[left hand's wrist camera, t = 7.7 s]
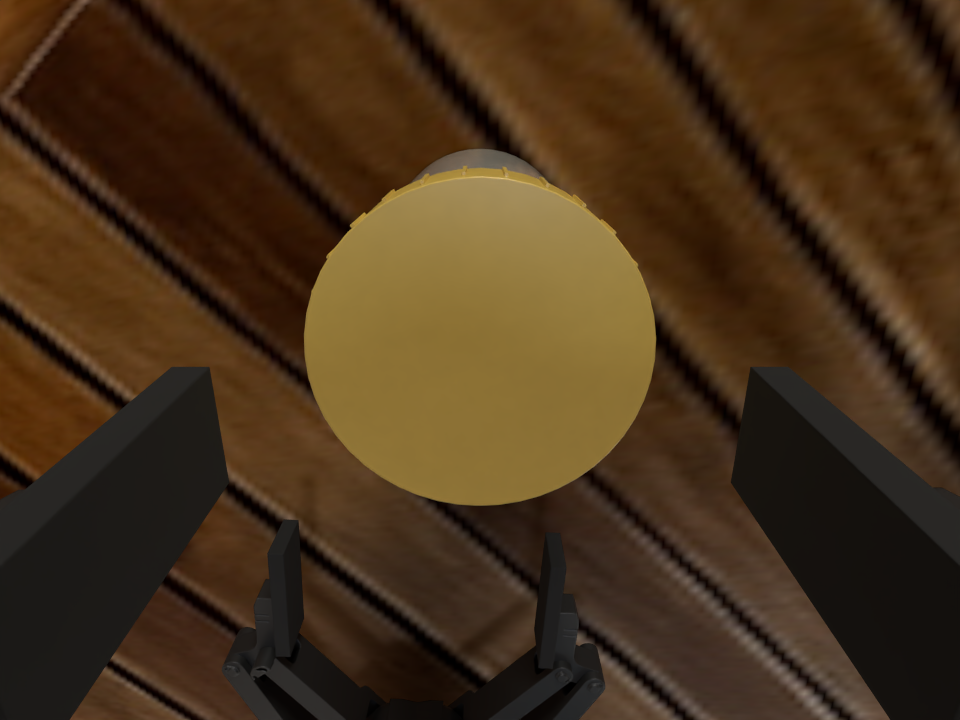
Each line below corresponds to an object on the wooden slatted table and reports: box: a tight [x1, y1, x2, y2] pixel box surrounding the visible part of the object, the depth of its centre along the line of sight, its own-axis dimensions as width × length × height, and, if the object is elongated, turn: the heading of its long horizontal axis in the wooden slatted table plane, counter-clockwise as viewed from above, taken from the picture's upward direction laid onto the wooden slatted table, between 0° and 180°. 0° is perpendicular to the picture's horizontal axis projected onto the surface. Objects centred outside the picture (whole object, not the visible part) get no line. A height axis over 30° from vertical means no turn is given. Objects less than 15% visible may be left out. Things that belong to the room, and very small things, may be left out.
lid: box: [304, 166, 656, 506], centre depth 18 cm, size 9×9×2 cm
